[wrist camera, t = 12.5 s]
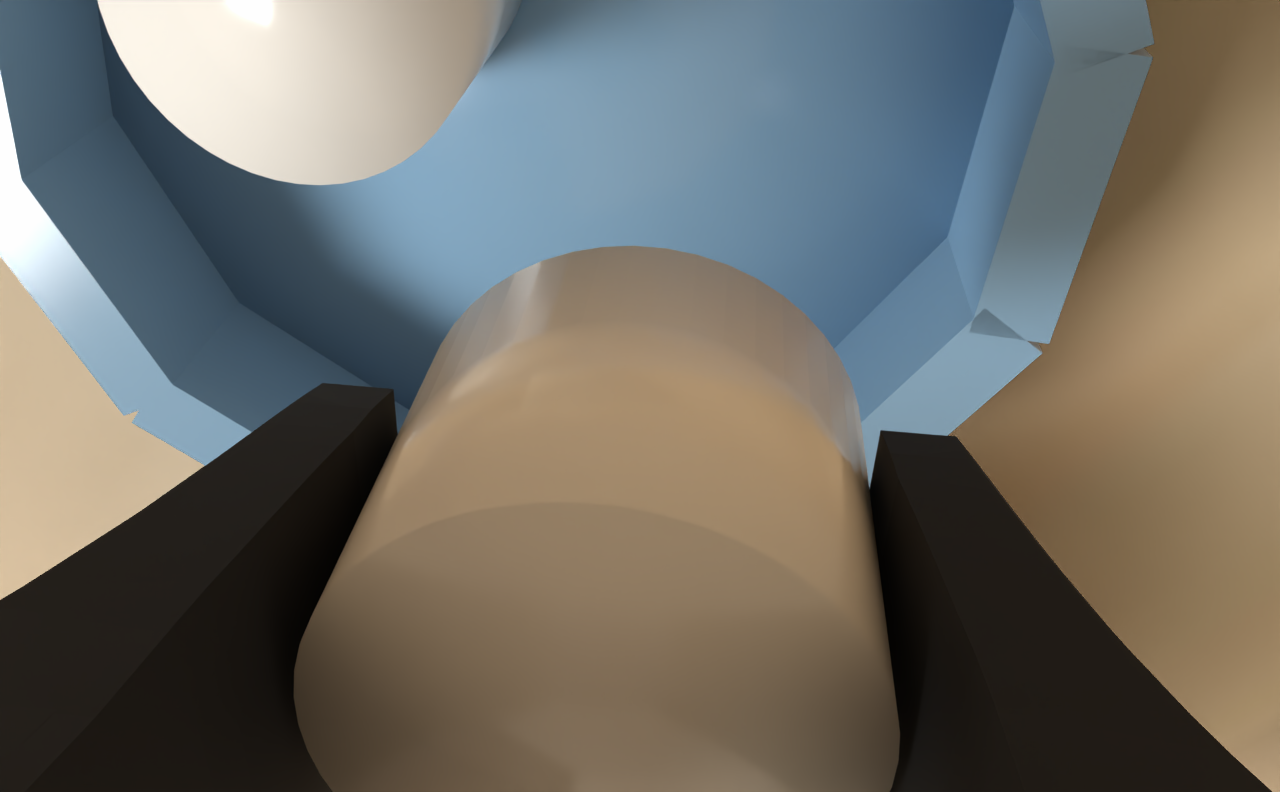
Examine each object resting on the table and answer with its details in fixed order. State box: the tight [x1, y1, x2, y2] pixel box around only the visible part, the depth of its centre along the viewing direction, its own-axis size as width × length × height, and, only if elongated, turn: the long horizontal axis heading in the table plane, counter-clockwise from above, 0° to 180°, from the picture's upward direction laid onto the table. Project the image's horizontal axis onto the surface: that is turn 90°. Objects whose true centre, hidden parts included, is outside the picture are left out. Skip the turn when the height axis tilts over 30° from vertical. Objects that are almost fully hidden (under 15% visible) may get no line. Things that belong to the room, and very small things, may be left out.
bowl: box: [0, 0, 1154, 489], centre depth 15 cm, size 14×14×3 cm
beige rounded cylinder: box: [294, 246, 900, 792], centre depth 9 cm, size 4×4×3 cm
